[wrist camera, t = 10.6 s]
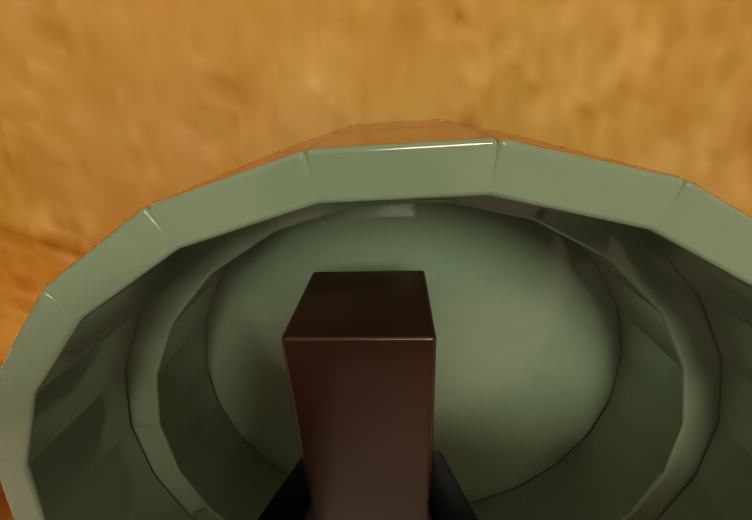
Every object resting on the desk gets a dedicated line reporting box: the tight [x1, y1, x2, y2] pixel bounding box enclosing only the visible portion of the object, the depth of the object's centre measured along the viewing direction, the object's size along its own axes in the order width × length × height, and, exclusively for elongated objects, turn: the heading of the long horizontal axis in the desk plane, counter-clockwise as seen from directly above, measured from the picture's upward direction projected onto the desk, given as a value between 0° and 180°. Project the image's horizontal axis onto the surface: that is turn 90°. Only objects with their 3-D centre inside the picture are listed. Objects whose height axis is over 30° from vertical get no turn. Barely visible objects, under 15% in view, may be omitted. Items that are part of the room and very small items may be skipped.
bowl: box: [0, 119, 752, 520], centre depth 9 cm, size 15×15×6 cm
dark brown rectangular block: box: [281, 270, 437, 520], centre depth 8 cm, size 9×2×2 cm, turn 2°
